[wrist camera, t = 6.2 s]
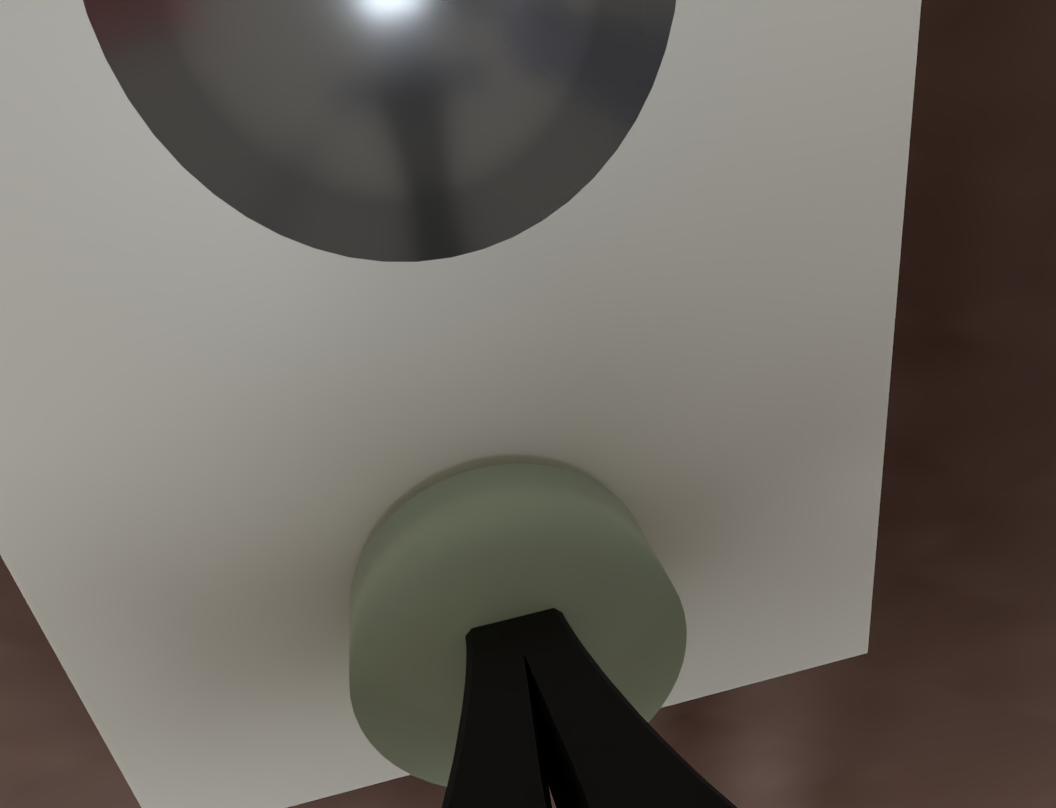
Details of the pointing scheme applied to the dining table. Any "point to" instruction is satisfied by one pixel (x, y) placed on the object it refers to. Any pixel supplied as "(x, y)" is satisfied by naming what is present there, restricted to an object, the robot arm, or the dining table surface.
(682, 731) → the dining table surface
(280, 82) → the grey button
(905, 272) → the dining table surface
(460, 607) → the sage button
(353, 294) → the control panel
